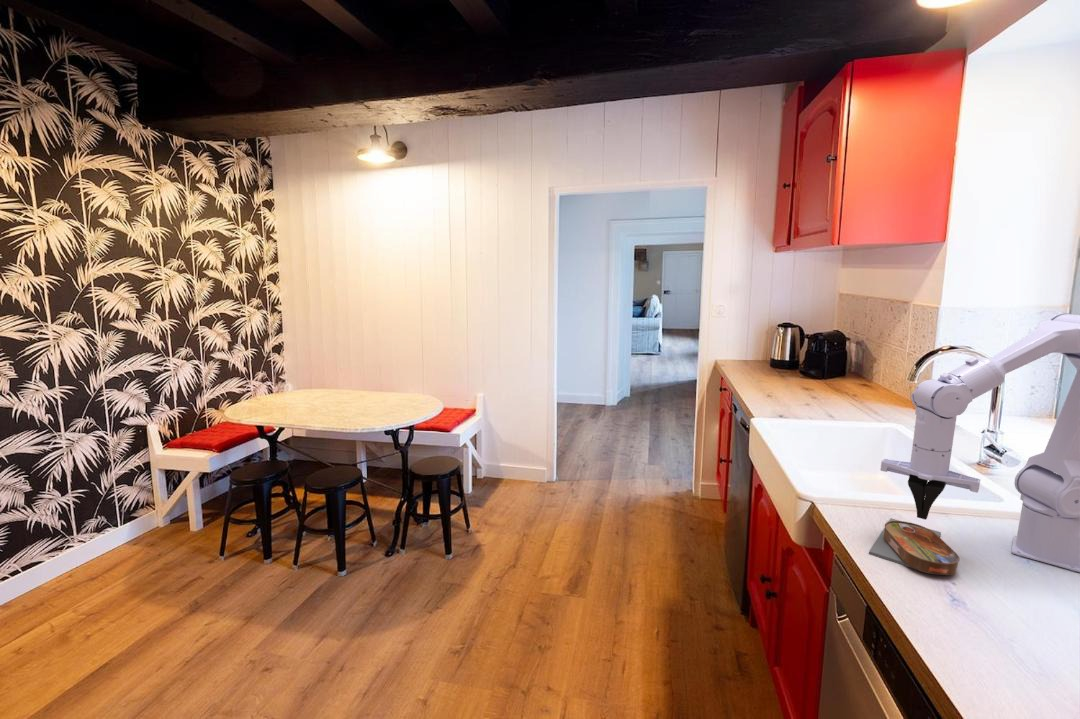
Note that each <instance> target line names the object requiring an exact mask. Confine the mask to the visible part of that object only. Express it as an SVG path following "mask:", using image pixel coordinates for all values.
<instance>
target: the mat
mask: <svg viewBox="0 0 1080 719" xmlns="http://www.w3.org/2000/svg"><path fill="white" fill-rule="evenodd" d="M890 521H900V520H899V519H895V518H892V517H891V518H889V520H888V521H887V522H890ZM928 529H929V530H931V531H933V532H934V533H935V534H936V535H937V536H938V537H940V538H941V535H942V532H941V531H940V530H939V531H938V530H934V529H931V528H928ZM884 531H885V527H883V530H881V532H880V534H879V535H878V537H877V538H876V539H875V541H874V543H873V544H872V546H871V548H870V549H869V551H868V555H871V556H875V557H878V558H880V559H883V560H884V559H885V560H886V561H887V560H888V561H890V562H893V563H897V564H899V565H902V566H905V567H908V568H912V567H911V566H909V565H907V564H906V563H905V562H904V561H903V560H902V559H901V558H900V557H899V555H898V554H897V553H896V552H895V551H894V550H893V549H892V547H891V546H890V545H889V544H888V543H887V542H886V540H885V538H884ZM912 569H913V568H912Z"/></svg>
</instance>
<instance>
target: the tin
mask: <svg viewBox="0 0 1080 719" xmlns="http://www.w3.org/2000/svg"><path fill="white" fill-rule="evenodd" d="M884 528H885V531H884V538H885V540H886V542H887V543H888V544H889V545H890V546H891V547H892V549H893V550H894V551H895V552H896V553H897V554H898V555H899V557H900V558H901V559H902V560H903V561H904V562H905V563H906V564H907V565H909V566H911V567H912V569H915V570H917V571H919V572H923V573H925V574H934V575H940V576H952V575H954V574H955V573H957V569H958V564H959V561H960V556H959V554H958V553H957V552H956V551H954V550H953V549H952V548H951V546H949V545H948V544H947V543H946V542H945V541H944V540H943V539H942V538H941V536H940V537H938V536H937V535H936V534H935V533H934V532H933V531H931V530H932V529H931V530H929V529H930V528H928V527H926V526H923V525H920V524H917V523H913V522H909V521H904V520H899V521H890V522H888V521H887V522H886V523H885V524H884ZM911 567H910V568H911Z"/></svg>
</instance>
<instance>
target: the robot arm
mask: <svg viewBox="0 0 1080 719" xmlns="http://www.w3.org/2000/svg"><path fill="white" fill-rule="evenodd" d="M1054 353H1055V354H1056V353H1058V354H1061V355H1063V357H1066V358H1067V359H1068V360H1069V361H1070V363H1071V364H1072V365H1073V367H1074V368H1075V369H1076V373H1075V375H1074V378H1073V381H1072V383H1071V386H1070V388H1069V390H1068V393H1067V396H1066V398H1065V399H1064V403H1063V406H1062V407H1061V410H1060V412H1059V414H1058V418H1057V420H1056V422H1055V424H1054V427H1053V430H1052V432H1051V435H1050V436H1049V439H1048V442H1047V444H1046V447H1045V449H1044V451H1043V452H1041V453H1038V454H1035V455H1032V456H1029V457H1028V459H1027V461H1026V464H1025V465H1024V466H1023V468H1021V469H1020V470H1019V471H1018V472H1017V473H1016V475H1015V478H1014V482H1013V483H1014V488H1015V490H1016V491H1017V492H1018V493H1019V494H1020V497H1019V498H1020V499H1019V500H1021V501H1022V504H1021V509H1020V515H1019V522H1018V527H1017V528H1018V529H1017V534H1016V536H1015V535H1014V536H1013V540H1012V547H1011V554H1014V555H1017V556H1019V557H1020V556H1021V557H1024V558H1028V559H1031V560H1034V561H1038V562H1042V563H1046V564H1049V565H1052V566H1056V567H1060V568H1063V569H1067V570H1071V571H1075V572H1078V573H1080V315H1079V314H1074V313H1073V314H1072V313H1068V312H1061V313H1056V314H1054V315H1052V316H1051V317H1049V318H1048V319H1046V320H1043V321H1041V322H1039V323H1038V325H1037V327H1036V329H1035V330H1033V331H1032V332H1029V333H1028V334H1027V335H1025V336H1024V337H1022V338H1021V339H1018V340H1017V341H1015V342H1014V343H1012V344H1011V345H1008V346H1007V347H1006V348H1004V349H1002V350H1000V352H998V353H996V354H995V355H993V356H992V357H989V358H988V357H983V356H977V357H971V356H970V357H969V358H968V359H967V358H966V359H965V360H964V362H965V363H964V364H961V365H960V366H959V367H956V368H955V369H953V370H951V371H949V372H947V373H946V372H944V373H942V374H940V375H939V377H938V378H937V379H926V380H924V381H922V382H920V383H919V384H918V385H917V386H916V387H915V389H914V391H913V392H911V393H910V399H911V400H910V401H911V402H912V404H913V405H914V407H915V417H916V418H915V422H914V425H915V426H914V431H913V438H912V448H911V454H910V461H904V460H903V461H902V460H894V459H888V458H883V459H882V460H881V462H880V468H879V470H880V471H881V472H884V473H887V472H889V473H890V472H891V473H895V474H899V475H904V476H908V480H907V485H908V487H909V490H910V492H911V494H912V496H913V501H914V504H915V508H916V509H915V510H916V518H919V519H922V520H927V519H928V517H929V512H930V510H931V507H932V505H933V504H934V502H935V501H936V500H937V499H938V497H939V496H940V495H941V493H942V492H943V491H944V490H945V488H946V487H947V486H952V487H955V488H960V489H965V490H969V491H970V492H973V493H976V494H977V493H979V490H980V484H981V478H975V477H973V476H968V475H965V474H962V473H958V472H956V471H952V470H950V467H951V466H950V465H951V457H952V451H953V444H954V437H955V431H956V423H957V418H958V416H960V415H962V414H964V412H965V411H967V410H966V409H967V408H968V406H969V404H970V403H971V402H973V400H975V399H977V398H978V397H981V396H982V395H984V394H986V393H988V392H990V391H991V390H994V389H995V388H997V387H999V386H1002V385H1003V384H1004V382H1005V378H1006V375H1007V374H1009V373H1011V372H1013V371H1015V370H1017V369H1020V368H1022V367H1024V366H1026V365H1029V364H1030V363H1032V362H1034V361H1037V360H1038V359H1041V358H1043V357H1046V356H1048V355H1049V354H1054ZM946 485H947V486H946Z"/></svg>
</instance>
